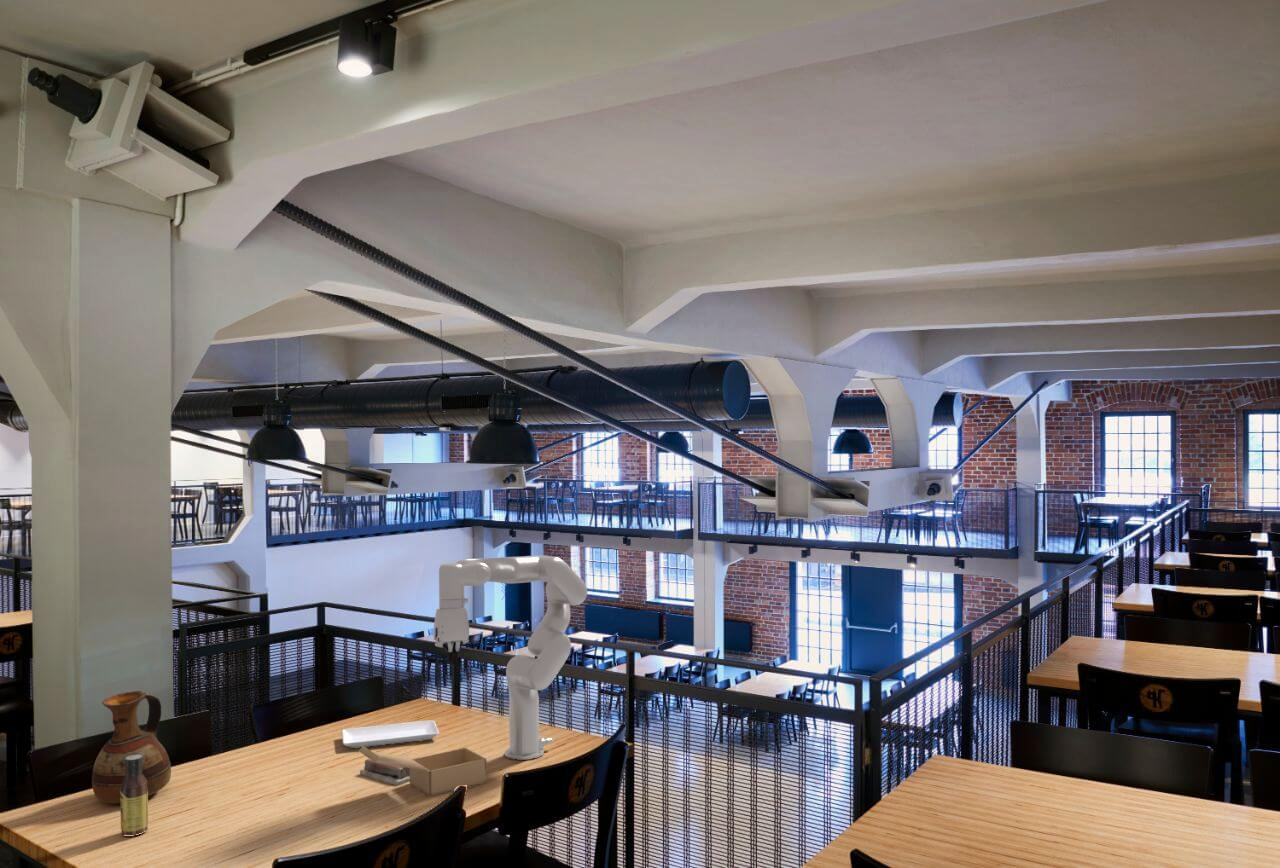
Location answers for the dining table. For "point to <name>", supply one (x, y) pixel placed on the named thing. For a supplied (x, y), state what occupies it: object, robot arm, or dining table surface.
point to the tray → (389, 734)
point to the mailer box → (448, 771)
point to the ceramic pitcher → (130, 747)
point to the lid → (390, 759)
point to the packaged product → (386, 772)
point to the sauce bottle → (134, 798)
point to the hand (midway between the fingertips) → (452, 664)
